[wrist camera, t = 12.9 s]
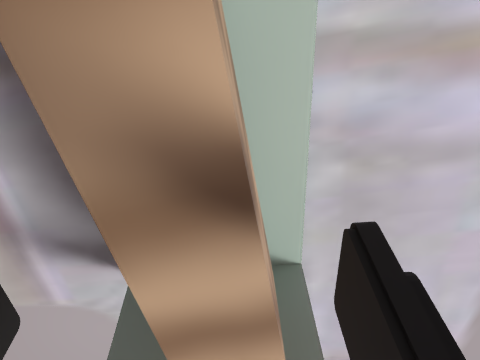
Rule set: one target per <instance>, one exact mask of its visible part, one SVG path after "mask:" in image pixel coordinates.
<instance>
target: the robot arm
mask: <svg viewBox="0 0 480 360" xmlns="http://www.w3.org/2000/svg"><path fill="white" fill-rule="evenodd" d="M334 304H335V310H336V314H337V317H338V320H339V324H340V327H341V330H342V334H343V337H344V340H345V344H346V347H347V350H348V354H349V357H350V360H466V359H465V357H464V355H463V354H462V352H461V350H460V349H459V347H458V345H457V343H456V342H455V340H454V338H453V336H452V335H451V333H450V331H449V330H448V328H447V326H446V324H445V323H444V321H443V319H442V318H441V316H440V314H439V312H438V311H437V309H436V307H435V305H434V304H433V302H432V300H431V299H430V297H429V295H428V293H427V292H426V290H425V288H424V287H423V285H422V283H421V281H420V280H419V278H418V277H417V276H416V275H415V274H414V273H412V272H403V270H402V268H401V266H400V264H399V262H398V261H397V259H396V257H395V255H394V253H393V251H392V250H391V248H390V246H389V244H388V242H387V240H386V239H385V237H384V235H383V233H382V231H381V229H380V228H379V226H378V224H377V223H376V222H360V223H352V224H351V227H350V229H345V230H344V232H343V239H342V246H341V253H340V260H339V267H338V275H337V282H336V289H335V296H334ZM19 326H20V317H19V315H18V313H17V312H16V310H15V308H14V307H13V305H12V303H11V302H10V300H9V298H8V297H7V295H6V293H5V292H4V290H3V288H2V287H1V285H0V360H2V359H3V357H4V355H5V354H6V352H7V350H8V348H9V346H10V344H11V343H12V341H13V339H14V337H15V335H16V333H17V332H18V329H19Z"/></svg>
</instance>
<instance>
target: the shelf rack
mask: <svg viewBox="0 0 480 360" xmlns="http://www.w3.org/2000/svg"><path fill="white" fill-rule="evenodd" d="M221 1H222V6H223V12H224V17H225V22H226V27H227V33H228V38H229V43H230V49H231V54H232V59H233V64H234V70H235V75H236V80H237V86H238V91H239V96H240V101H241V107H242V112H243V117H244V123H245V128H246V133H247V138H248V144H249V149H250V154H251V160H252V165H253V170H254V175H255V181H256V186H257V191H258V196H259V202H260V207H261V212H262V218H263V223H264V228H265V233H266V239H267V244H268V249H269V255H270V260H271V265H272V270H273V276H274V283H275V290H276V297H277V304H278V311H279V318H280V325H281V332H282V339H283V346H284V353H285V360H324V358H323V354H322V349H321V345H320V341H319V337H318V332H317V328H316V324H315V320H314V316H313V311H312V307H311V303H310V299H309V294H308V290H307V286H306V282H305V278H304V273H303V269H302V265H301V260H302V244H303V228H304V212H305V196H306V180H307V165H308V149H309V133H310V117H311V101H312V85H313V69H314V53H315V37H316V21H317V5H318V0H221ZM107 360H167V358H166V357H165V355H164V353H163V351H162V349H161V347H160V345H159V343H158V341H157V339H156V338H155V336H154V334H153V332H152V330H151V328H150V326H149V324H148V322H147V320H146V318H145V317H144V315H143V313H142V311H141V309H140V307H139V305H138V303H137V301H136V299H135V298H134V296H133V294H132V292H131V290H130V288H129V286H128V288H127V292H126V295H125V299H124V302H123V306H122V309H121V313H120V316H119V320H118V323H117V327H116V331H115V334H114V337H113V341H112V344H111V348H110V351H109V355H108V358H107Z"/></svg>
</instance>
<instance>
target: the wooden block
mask: <svg viewBox="0 0 480 360" xmlns="http://www.w3.org/2000/svg"><path fill="white" fill-rule="evenodd" d="M0 42H1V44H2V46H3V48H4V50H5V52H6V54H7V55H8V57H9V59H10V61H11V63H12V65H13V67H14V69H15V71H16V73H17V75H18V76H19V78H20V80H21V82H22V84H23V86H24V88H25V90H26V92H27V94H28V95H29V97H30V99H31V101H32V103H33V105H34V107H35V109H36V111H37V113H38V115H39V116H40V118H41V120H42V122H43V124H44V126H45V128H46V130H47V132H48V134H49V136H50V137H51V139H52V141H53V143H54V145H55V147H56V149H57V151H58V153H59V155H60V156H61V158H62V160H63V162H64V164H65V166H66V168H67V170H68V172H69V174H70V176H71V177H72V179H73V181H74V183H75V185H76V187H77V189H78V191H79V193H80V195H81V197H82V198H83V200H84V202H85V204H86V206H87V208H88V210H89V212H90V214H91V216H92V217H93V219H94V221H95V223H96V225H97V227H98V229H99V231H100V233H101V235H102V237H103V238H104V240H105V242H106V244H107V246H108V248H109V250H110V252H111V254H112V256H113V257H114V259H115V261H116V263H117V265H118V267H119V269H120V271H121V273H122V275H123V277H124V278H125V280H126V282H127V284H128V286H129V288H130V290H131V292H132V294H133V296H134V298H135V299H136V301H137V303H138V305H139V307H140V309H141V311H142V313H143V315H144V317H145V318H146V320H147V322H148V324H149V326H150V328H151V330H152V332H153V334H154V336H155V338H156V339H157V341H158V343H159V345H160V347H161V349H162V351H163V353H164V355H165V357H166V358H167V360H285V353H284V346H283V339H282V332H281V325H280V318H279V311H278V304H277V297H276V290H275V283H274V276H273V270H272V265H271V260H270V255H269V249H268V244H267V239H266V233H265V228H264V223H263V218H262V212H261V207H260V202H259V196H258V191H257V186H256V181H255V175H254V170H253V165H252V160H251V154H250V149H249V144H248V138H247V133H246V128H245V123H244V117H243V112H242V107H241V101H240V96H239V91H238V86H237V80H236V75H235V70H234V64H233V59H232V54H231V49H230V43H229V38H228V33H227V27H226V22H225V17H224V12H223V6H222V1H221V0H0Z"/></svg>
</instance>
